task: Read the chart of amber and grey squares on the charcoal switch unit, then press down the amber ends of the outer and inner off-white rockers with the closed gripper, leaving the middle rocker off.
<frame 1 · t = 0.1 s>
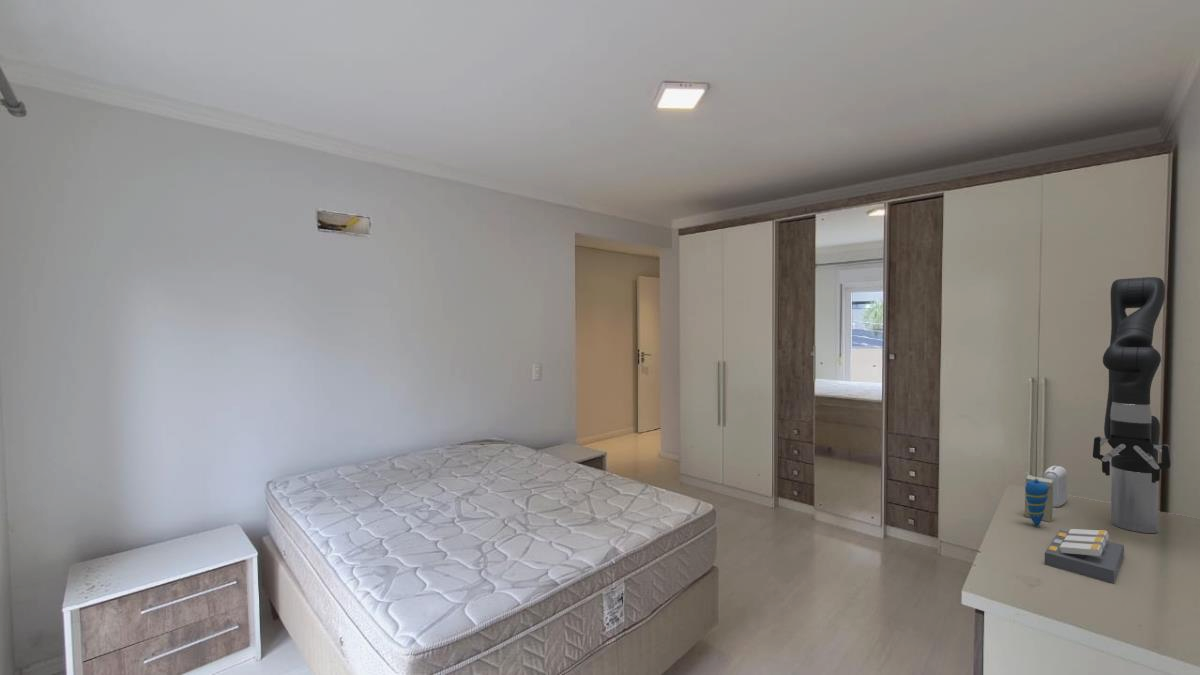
hand: (1129, 478, 132), 17 cm above the dresser, tool pointing down, fingers open, 8 cm apart
ornament: (1036, 527, 143), on the dresser
rocker outer: (1080, 548, 119), point 5 cm above the dresser, hinge at 14.0°
switch unit: (1084, 560, 123), on the dresser
rocker inner: (1088, 534, 126), point 5 cm above the dresser, hinge at 14.0°
skincare box: (1038, 518, 149), on the dresser
rocker middle: (1084, 541, 122), point 5 cm above the dresser, hinge at 14.0°
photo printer: (1055, 503, 160), on the dresser
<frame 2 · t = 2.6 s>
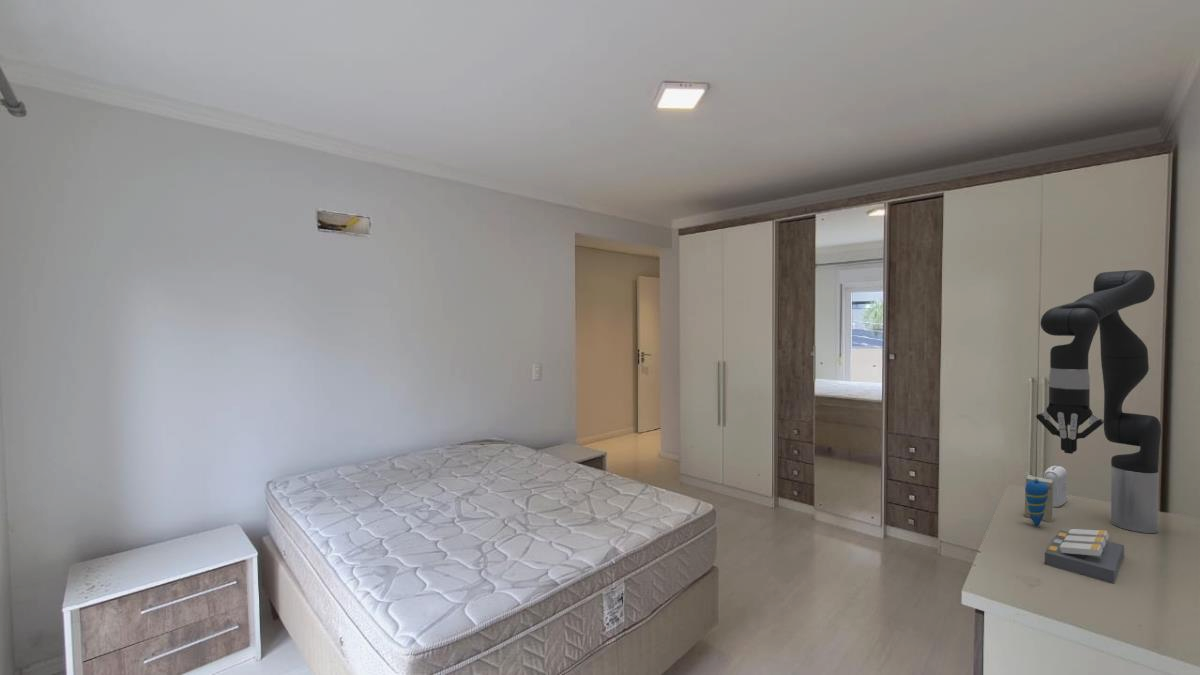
hand: (1068, 452, 124), 27 cm above the dresser, tool pointing down, fingers closed
nothing on the dresser moved.
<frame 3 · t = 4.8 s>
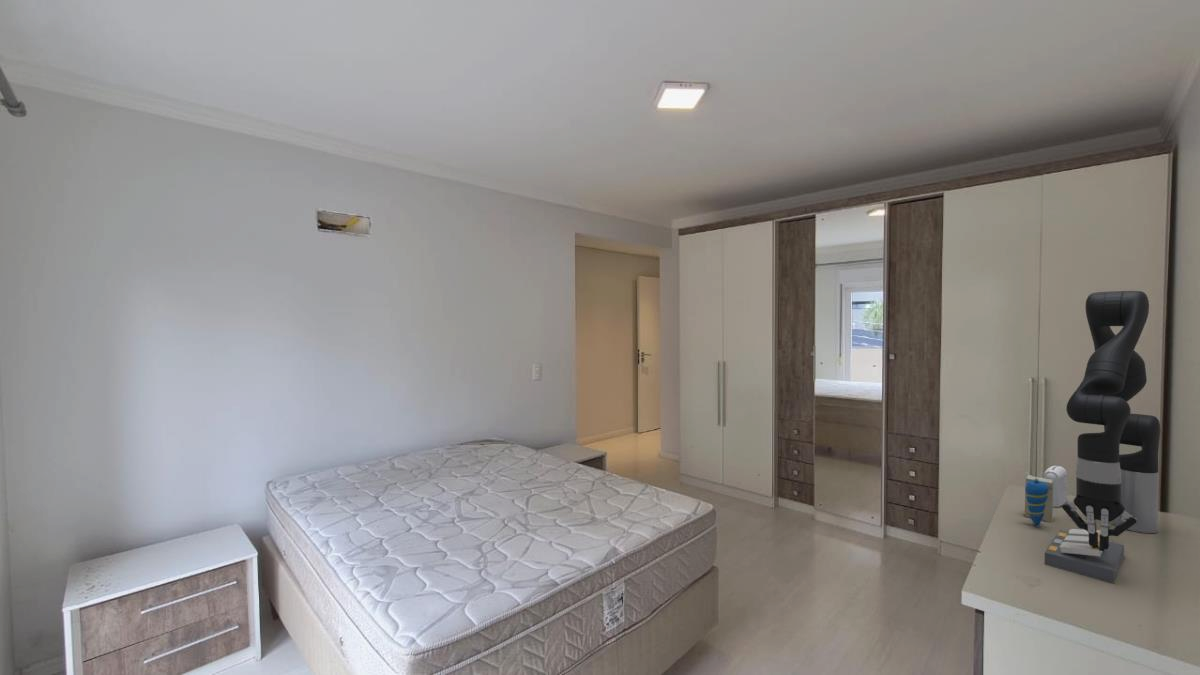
hand: (1098, 549, 116), 6 cm above the dresser, tool pointing down, fingers closed
rocker outer: (1080, 548, 119), point 5 cm above the dresser, hinge at 12.8°, touching gripper
everything else where it was.
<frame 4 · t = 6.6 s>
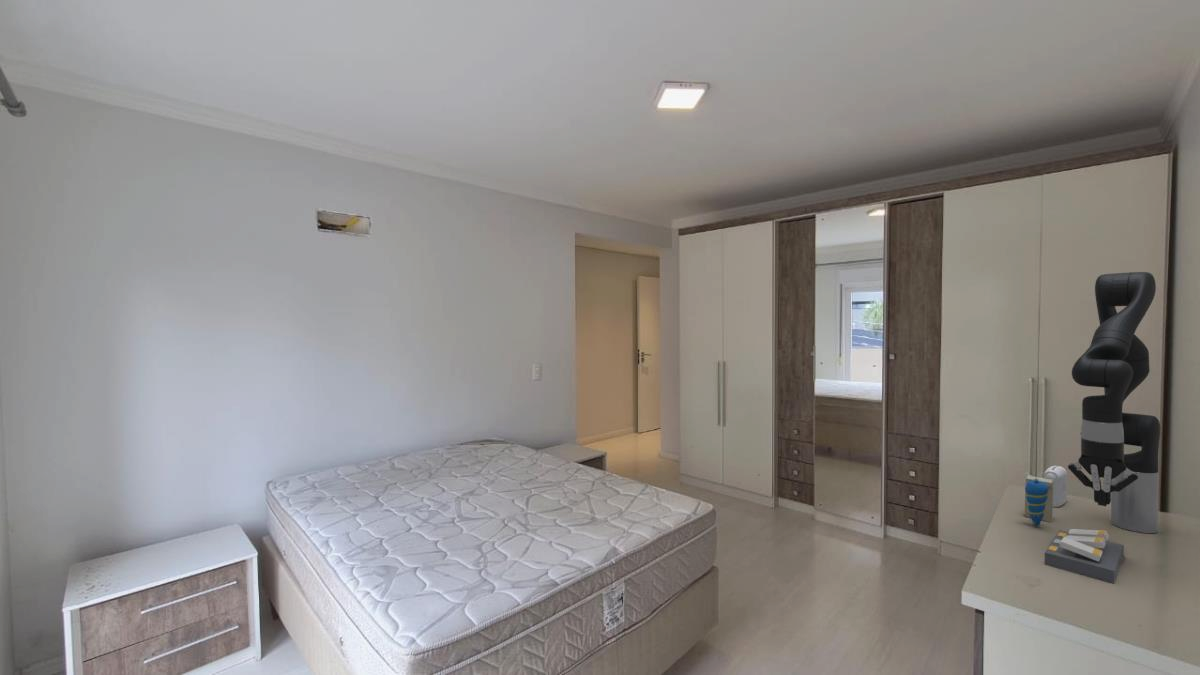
hand: (1102, 504, 123), 14 cm above the dresser, tool pointing down, fingers closed
rocker outer: (1080, 548, 119), point 5 cm above the dresser, hinge at -10.6°
everything else where it was.
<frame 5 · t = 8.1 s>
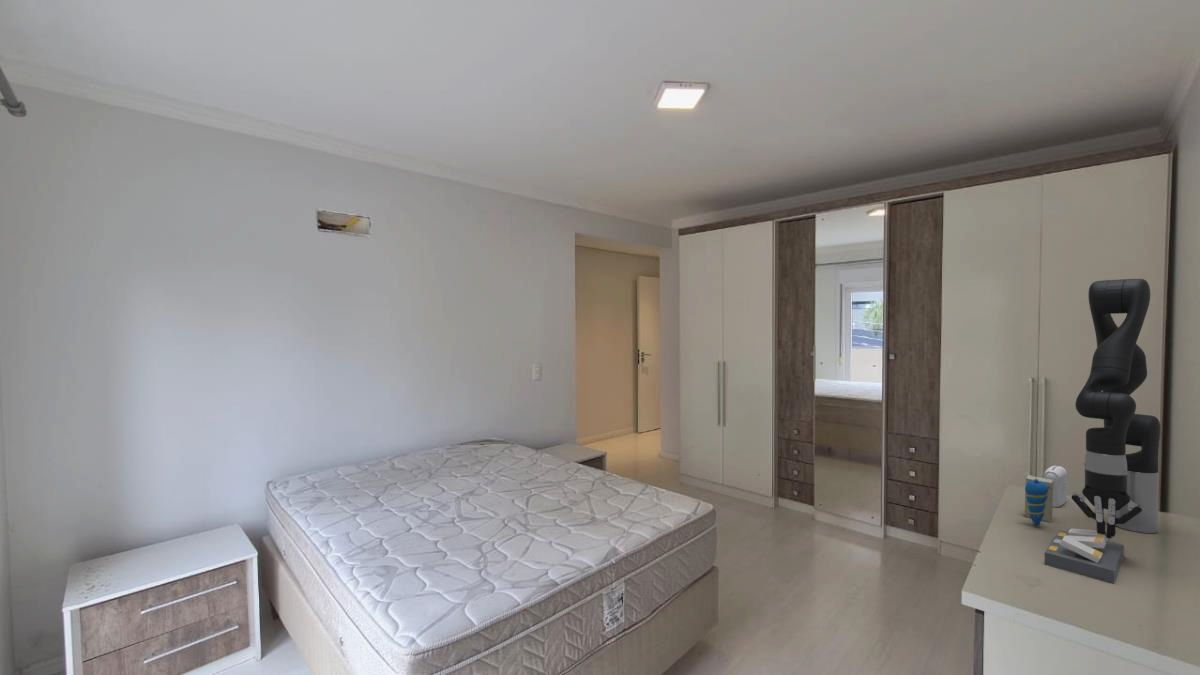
hand: (1106, 536, 124), 5 cm above the dresser, tool pointing down, fingers closed
rocker outer: (1081, 548, 119), point 5 cm above the dresser, hinge at -18.6°
rocker inner: (1088, 534, 126), point 5 cm above the dresser, hinge at 11.3°, touching gripper
everything else where it was.
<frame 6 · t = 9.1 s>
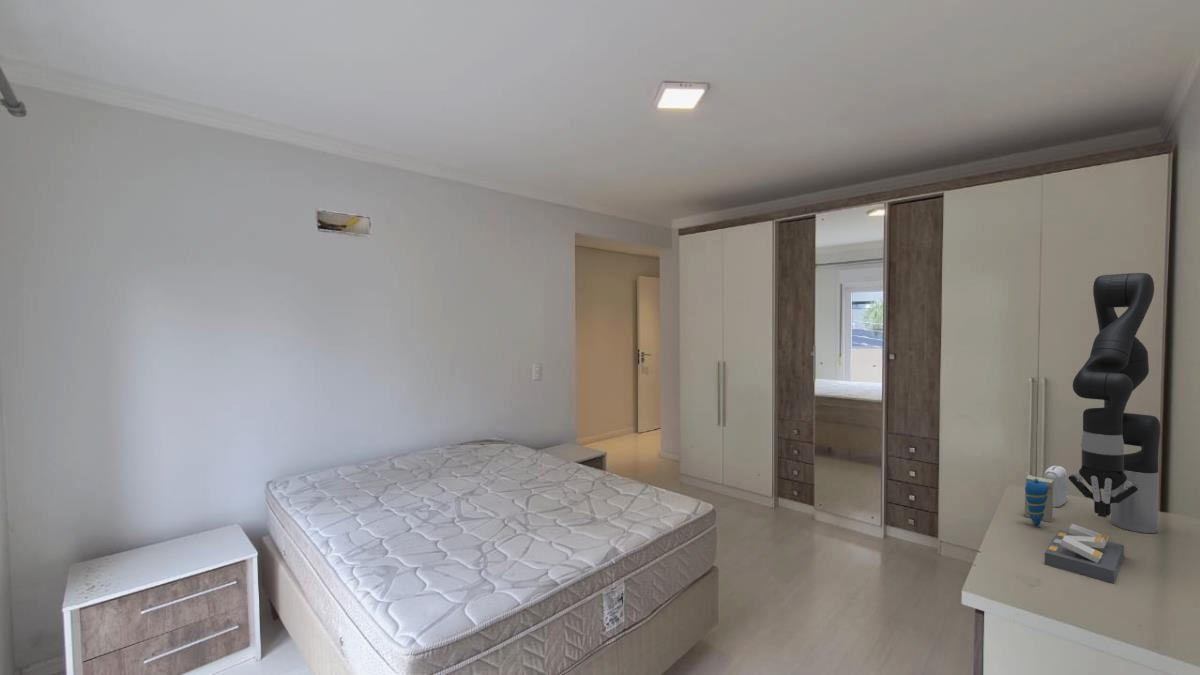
hand: (1102, 515, 124), 10 cm above the dresser, tool pointing down, fingers closed
rocker outer: (1081, 548, 119), point 5 cm above the dresser, hinge at -19.1°, touching switch unit
rocker inner: (1088, 534, 126), point 5 cm above the dresser, hinge at -11.6°
everything else where it was.
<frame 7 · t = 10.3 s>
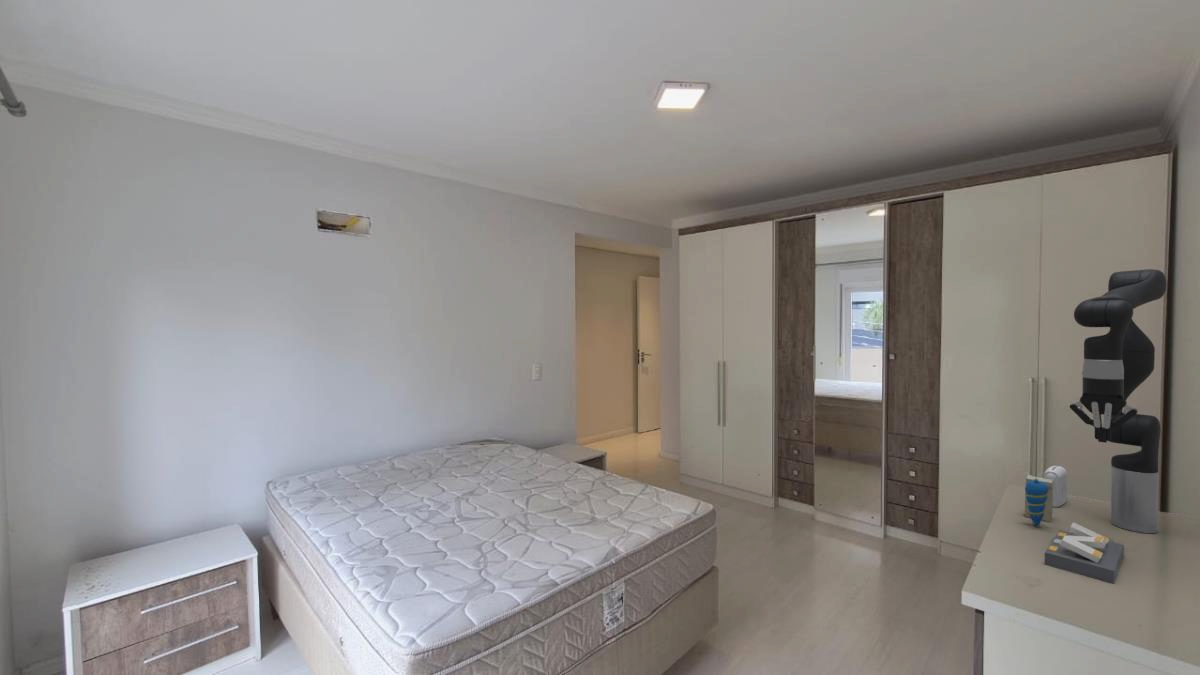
hand: (1102, 441, 127), 29 cm above the dresser, tool pointing down, fingers closed
rocker outer: (1081, 548, 119), point 5 cm above the dresser, hinge at -18.0°
rocker inner: (1088, 534, 126), point 5 cm above the dresser, hinge at -18.9°
everything else where it was.
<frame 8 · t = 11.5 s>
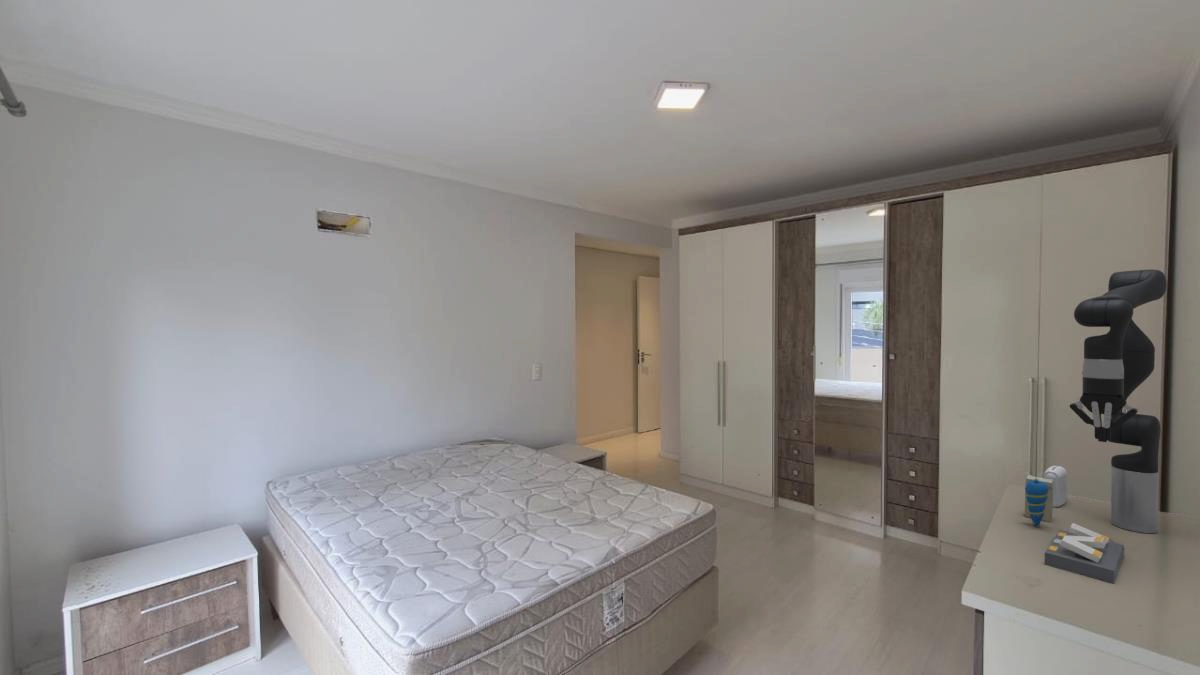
hand: (1102, 441, 127), 29 cm above the dresser, tool pointing down, fingers closed
rocker outer: (1081, 548, 119), point 5 cm above the dresser, hinge at -17.4°
rocker inner: (1088, 534, 126), point 5 cm above the dresser, hinge at -15.4°
everything else where it was.
at the end: rocker outer at -17° (first picture: +14°); rocker inner at -15° (first picture: +14°); rocker middle at +14° (first picture: +14°) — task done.
